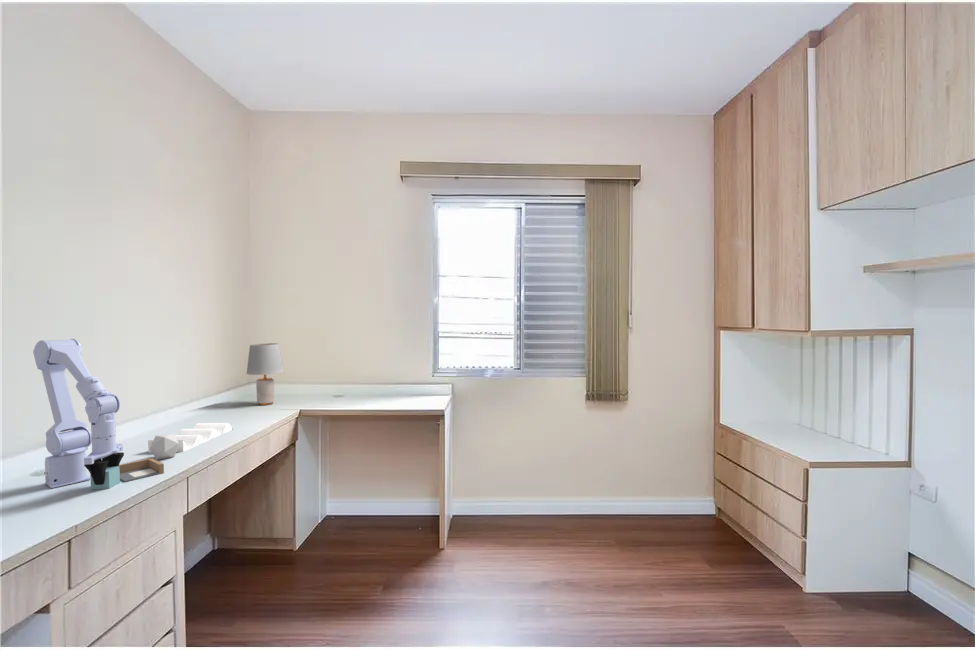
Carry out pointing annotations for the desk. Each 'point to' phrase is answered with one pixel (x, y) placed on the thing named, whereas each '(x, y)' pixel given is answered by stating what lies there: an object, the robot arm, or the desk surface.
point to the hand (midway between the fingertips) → (105, 481)
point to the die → (164, 446)
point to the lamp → (264, 369)
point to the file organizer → (198, 435)
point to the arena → (140, 469)
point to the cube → (108, 478)
